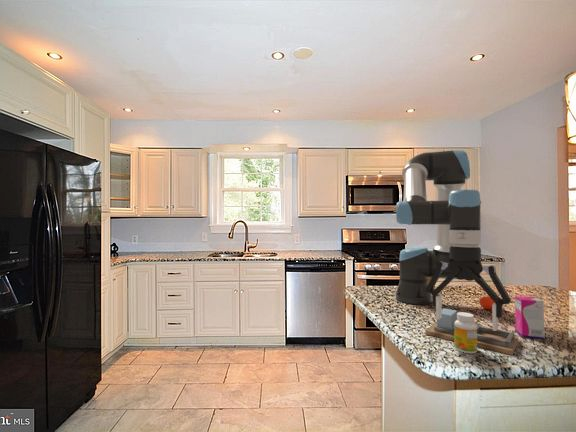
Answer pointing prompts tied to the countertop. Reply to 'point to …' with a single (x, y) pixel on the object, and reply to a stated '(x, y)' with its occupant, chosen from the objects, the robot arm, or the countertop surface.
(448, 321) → the block
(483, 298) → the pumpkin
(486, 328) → the brown tray with rails
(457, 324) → the supplement bottle
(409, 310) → the countertop surface
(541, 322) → the supplement box
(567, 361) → the countertop surface
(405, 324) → the countertop surface
